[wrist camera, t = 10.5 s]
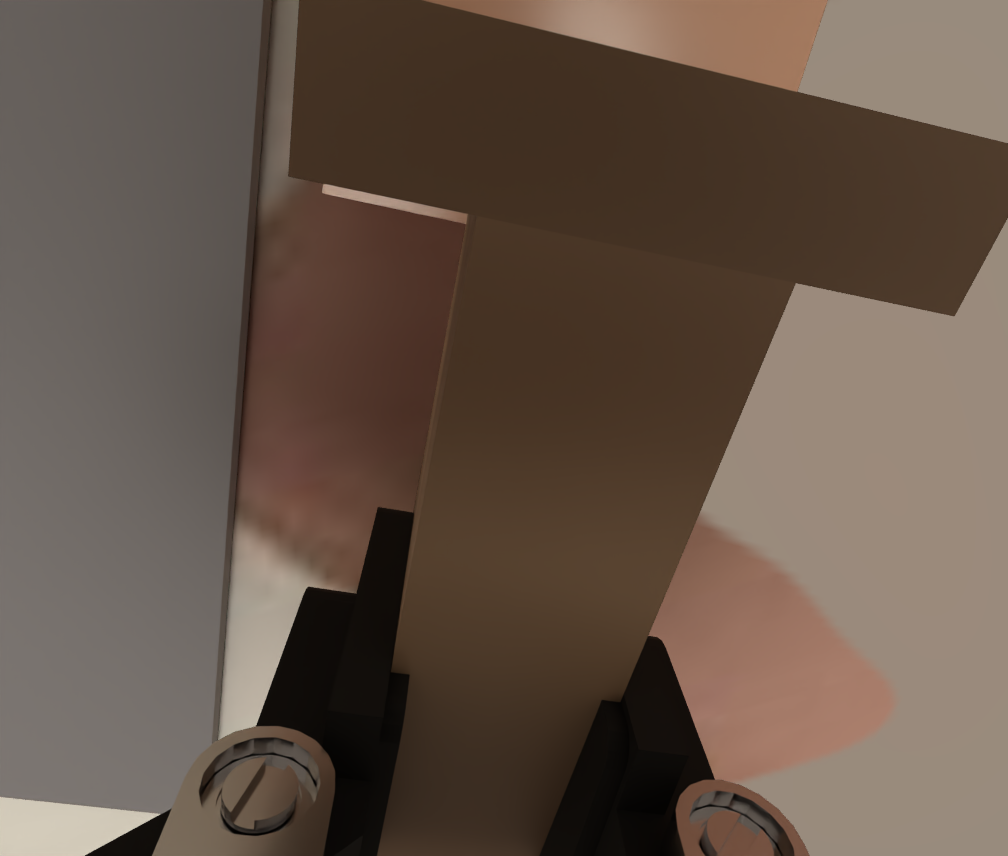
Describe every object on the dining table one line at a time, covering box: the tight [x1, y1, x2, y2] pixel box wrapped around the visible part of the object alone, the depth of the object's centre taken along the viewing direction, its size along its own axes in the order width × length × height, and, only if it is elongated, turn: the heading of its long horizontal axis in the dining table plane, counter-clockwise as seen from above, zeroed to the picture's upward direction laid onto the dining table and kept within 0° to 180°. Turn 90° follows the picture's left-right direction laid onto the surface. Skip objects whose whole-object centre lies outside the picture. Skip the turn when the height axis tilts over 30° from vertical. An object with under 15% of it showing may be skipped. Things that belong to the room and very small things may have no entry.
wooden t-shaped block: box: [288, 0, 1008, 856], centre depth 10 cm, size 16×5×4 cm, turn 168°
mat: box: [0, 0, 272, 814], centre depth 14 cm, size 20×8×1 cm, turn 168°
